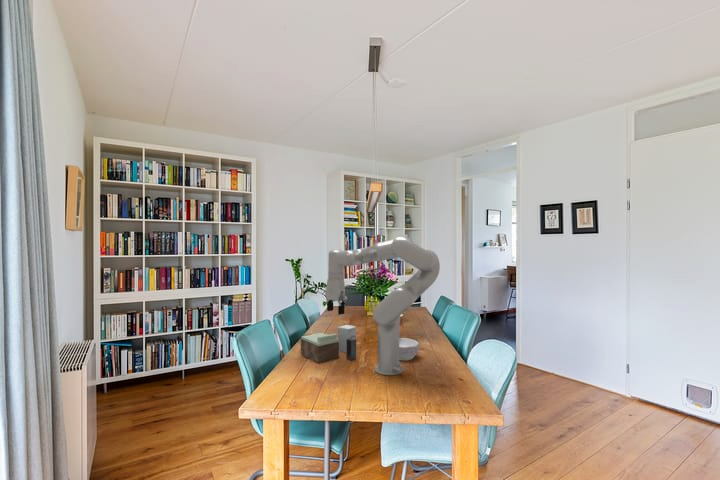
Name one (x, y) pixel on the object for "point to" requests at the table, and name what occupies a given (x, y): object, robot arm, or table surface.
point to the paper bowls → (407, 349)
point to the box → (319, 351)
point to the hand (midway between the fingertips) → (335, 312)
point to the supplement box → (345, 336)
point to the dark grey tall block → (351, 349)
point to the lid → (321, 339)
